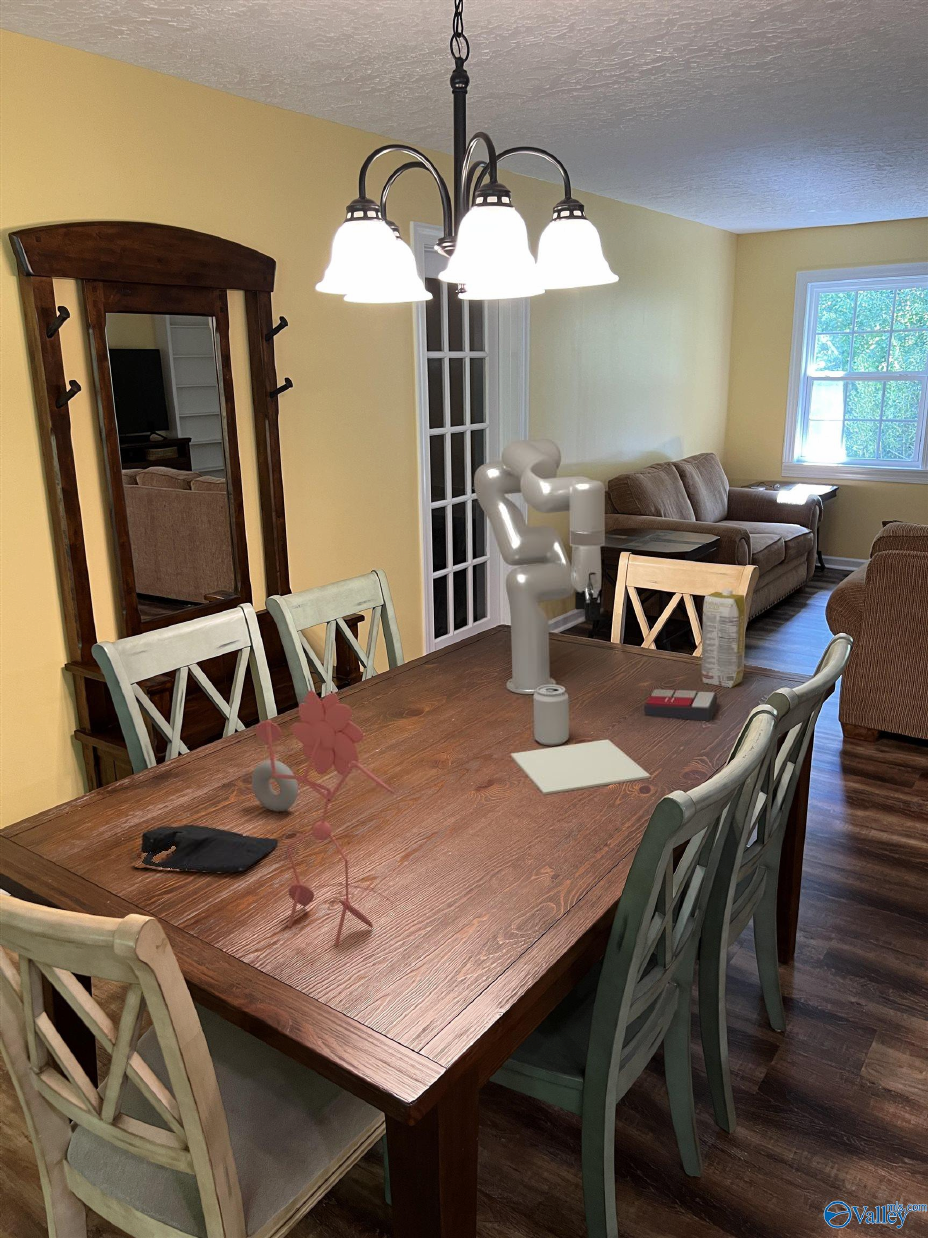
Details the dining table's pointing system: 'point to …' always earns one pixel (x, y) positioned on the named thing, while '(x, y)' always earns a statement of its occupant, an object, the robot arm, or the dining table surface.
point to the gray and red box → (681, 705)
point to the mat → (578, 766)
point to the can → (551, 715)
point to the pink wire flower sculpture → (326, 745)
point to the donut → (265, 790)
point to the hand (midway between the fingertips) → (587, 614)
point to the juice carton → (723, 638)
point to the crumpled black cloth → (204, 848)
